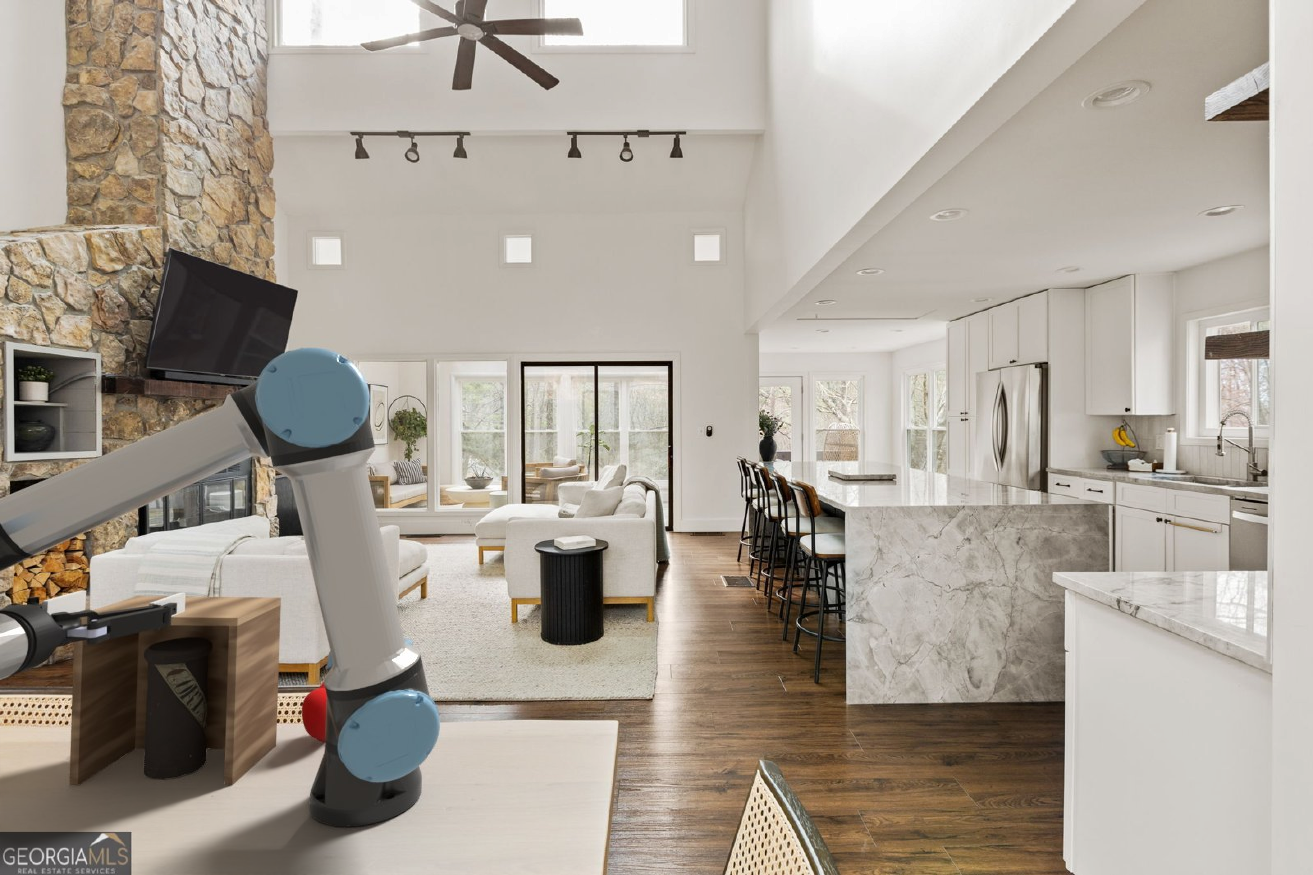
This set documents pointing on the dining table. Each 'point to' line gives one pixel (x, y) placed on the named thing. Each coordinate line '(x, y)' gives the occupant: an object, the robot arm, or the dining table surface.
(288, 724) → the dining table surface
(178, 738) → the container
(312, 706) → the heart
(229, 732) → the cubby
